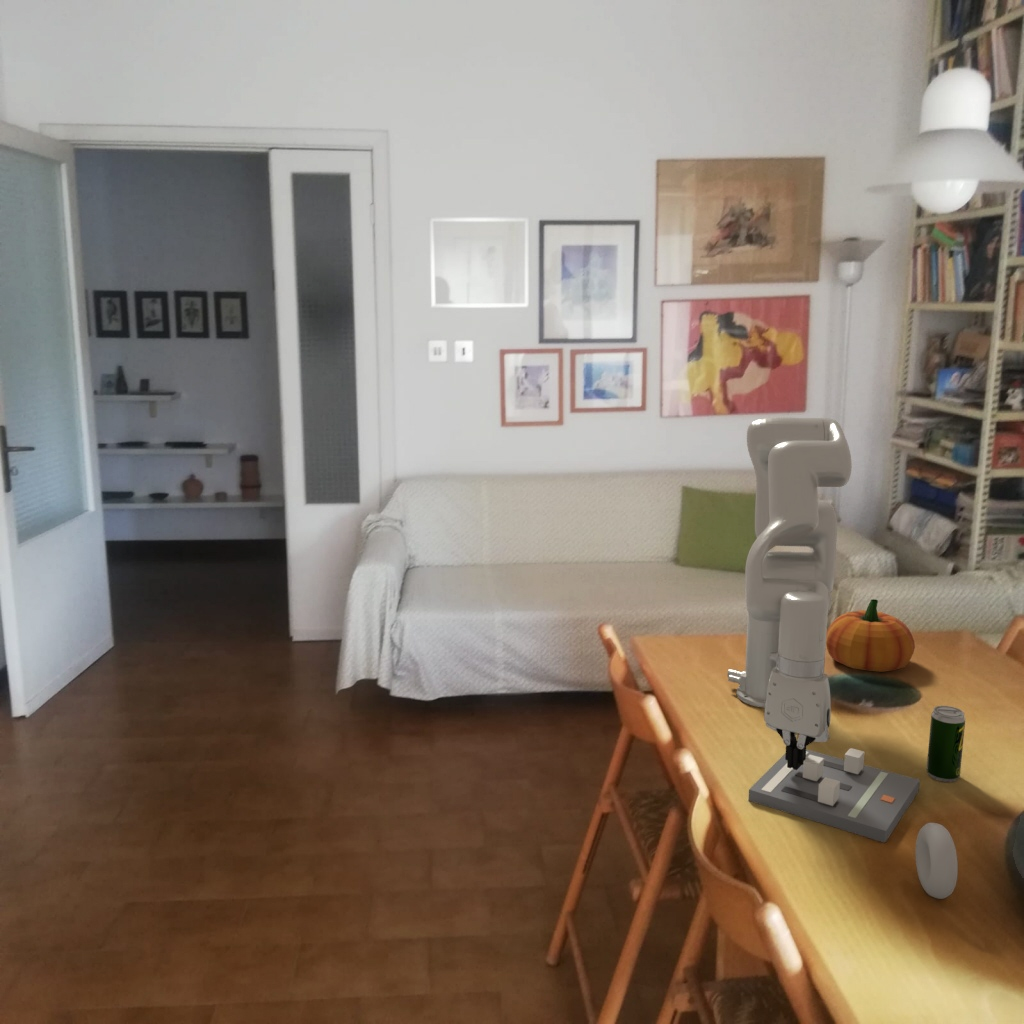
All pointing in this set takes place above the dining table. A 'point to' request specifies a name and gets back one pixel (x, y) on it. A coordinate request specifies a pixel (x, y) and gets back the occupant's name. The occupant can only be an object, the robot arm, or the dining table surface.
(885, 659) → the pumpkin
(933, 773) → the beer can
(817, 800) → the panel
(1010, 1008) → the dining table surface
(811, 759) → the handle
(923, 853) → the donut
